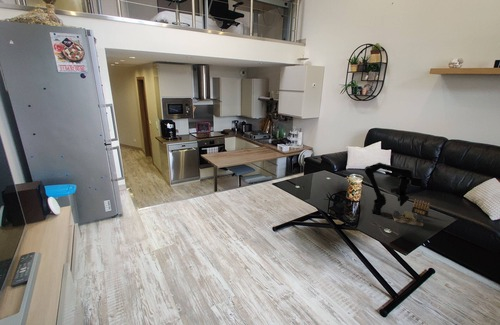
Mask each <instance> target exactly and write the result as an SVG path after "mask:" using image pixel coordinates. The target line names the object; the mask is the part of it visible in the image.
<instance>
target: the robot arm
mask: <svg viewBox="0 0 500 325" xmlns="http://www.w3.org/2000/svg"><path fill="white" fill-rule="evenodd" d="M379 170H385V171H388V172H393V173H396V174H398V176H397V179H399V180H400V181H399V183H398V184H397V186H396V185H395V186H390V187H389V189H390V190H389V191H390V193H391V194H393V193H396V195H397V202H399V206H400V207H402V206H403V205H404V204H405V203H406V202H407V201H409V200H410V197H409V195H408V189H409V185H410V186H411V187H416V188H421V187H422V184H423V182H422V180H423V179H422V178H421V177H416V176H414V175H412V174H413V172H412V171H411V169H410V168H409V167H404V166H402V167H400V166H399V167H398V166H395V165H389V164H386V163H382V162H377V163H374V164H372V165H371V164H370V165H367V166H365V167H364V173H365V175H366V176H367V178H368V179H369V182H370V183H371V186H372V189H373V190H374V193H375V195H376V198H375V199H374V200H373V203H374V204H373V208H372V209H371V213H372V214H373V215H374V214H375V215H380V216H381V215H382V208H383V207H384V206H385V205H386V204H387V197H386V196H385V194H384V193H382V191H381V190H380V188H379V185H378V183H377V180H376V178H375V175H374V173H375V172H377V171H379Z"/></svg>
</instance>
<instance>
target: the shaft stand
mask: <svg viewBox="0 0 500 325" xmlns="http://www.w3.org/2000/svg"><path fill="white" fill-rule="evenodd" d="M391 214H392V218H393V220H394V222H396V223H401V224H406V225H413V226H419V227H423V226H424V223H423V221H424V216H422V215H420V214H415V215H414V214H413V219H412V220H410V219H404V218H403V213H402V212H400V211H399V210H393V213H391Z"/></svg>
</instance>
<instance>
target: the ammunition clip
mask: <svg viewBox="0 0 500 325" xmlns="http://www.w3.org/2000/svg"><path fill="white" fill-rule="evenodd" d="M429 210H430V202H428V201H426V202H425V201H424V200H422V199H418V200H417V198H415V199H414V202H413V204H412V209H411V212H412V213H413V214H415V215H417V214H420V215H422V216H423V217H425V218H428V217H429V212H430V211H429Z"/></svg>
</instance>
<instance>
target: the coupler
mask: <svg viewBox="0 0 500 325" xmlns="http://www.w3.org/2000/svg"><path fill="white" fill-rule="evenodd" d="M402 214H403V218H404V219H410V220H412V219H413V217H414V213H412V211H407V210H403V213H402Z"/></svg>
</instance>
